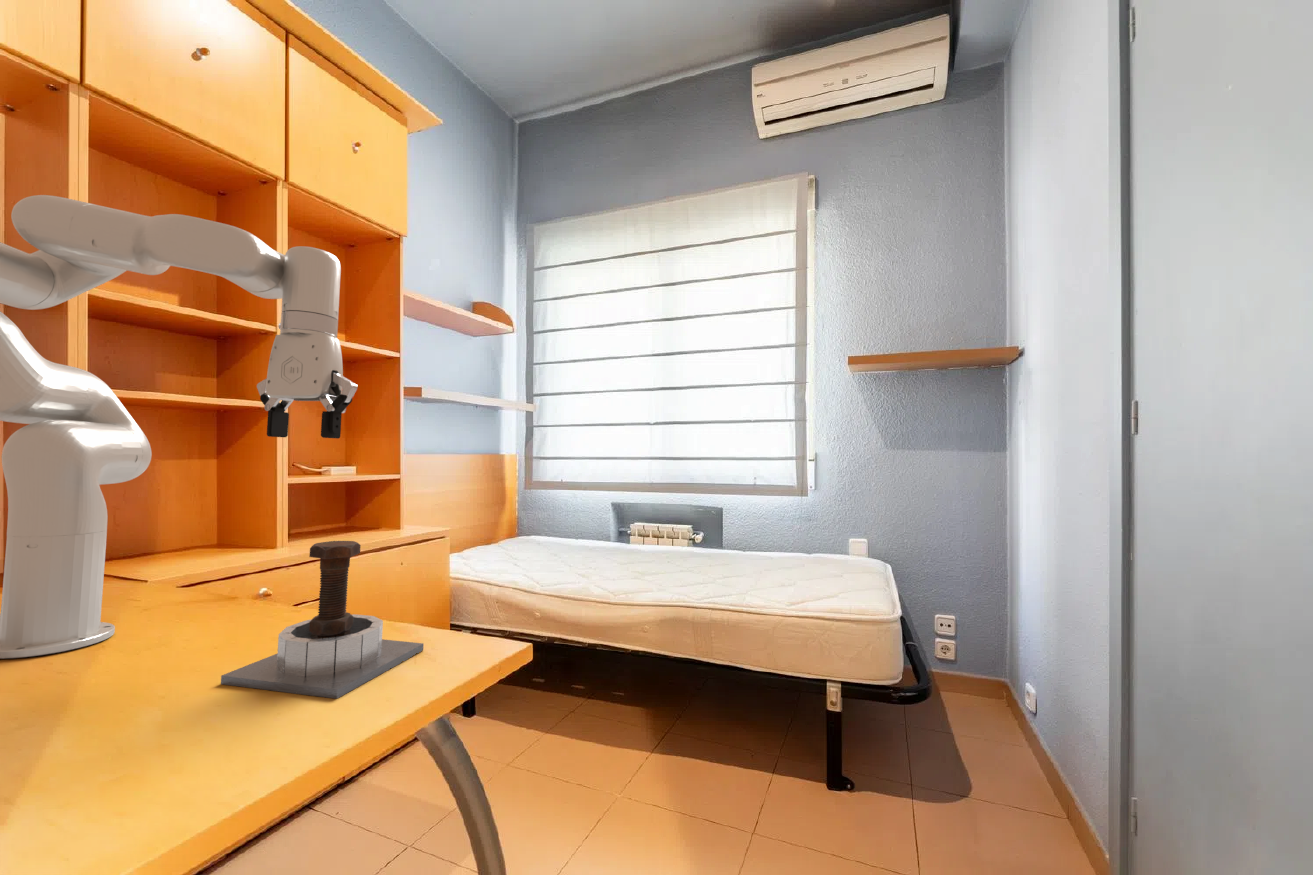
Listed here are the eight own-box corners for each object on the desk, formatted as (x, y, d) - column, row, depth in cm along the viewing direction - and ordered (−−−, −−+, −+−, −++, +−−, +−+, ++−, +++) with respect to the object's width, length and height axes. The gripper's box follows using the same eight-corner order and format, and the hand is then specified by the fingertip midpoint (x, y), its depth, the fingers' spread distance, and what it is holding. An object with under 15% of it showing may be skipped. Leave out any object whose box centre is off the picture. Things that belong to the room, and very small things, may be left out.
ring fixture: (220, 683, 64) (223, 641, 64) (326, 640, 79) (328, 606, 80) (336, 698, 61) (339, 654, 61) (423, 650, 76) (424, 615, 77)
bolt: (296, 660, 69) (302, 544, 70) (332, 648, 74) (338, 539, 74) (326, 668, 67) (333, 548, 67) (362, 655, 71) (368, 542, 72)
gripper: (241, 324, 82) (234, 435, 81) (339, 321, 79) (332, 437, 78) (283, 335, 89) (277, 437, 88) (375, 333, 86) (369, 439, 85)
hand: (303, 437), depth 83 cm, fingers open, 9 cm apart
